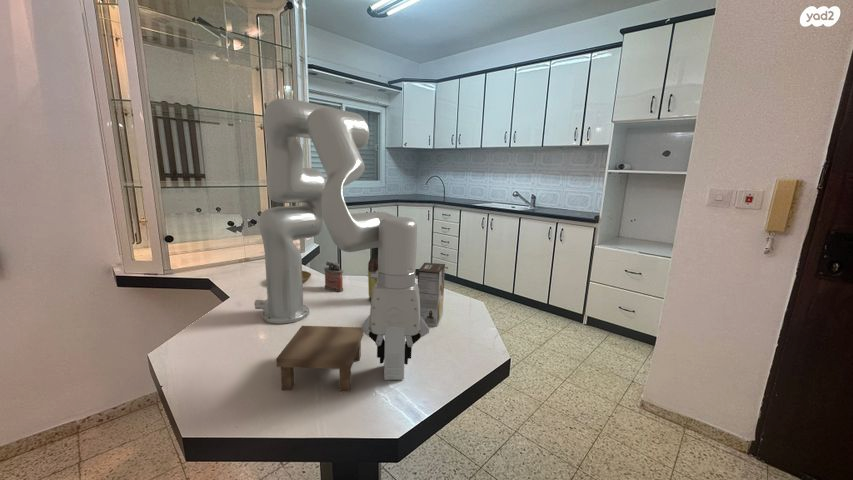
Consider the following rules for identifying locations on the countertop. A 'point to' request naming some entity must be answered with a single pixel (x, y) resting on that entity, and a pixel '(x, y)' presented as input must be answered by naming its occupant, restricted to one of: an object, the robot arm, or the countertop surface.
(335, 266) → the lighter
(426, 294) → the coffee box
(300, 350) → the walnut stool
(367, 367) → the countertop surface
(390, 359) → the skincare box
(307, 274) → the plant saucer
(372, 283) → the sauce bottle
